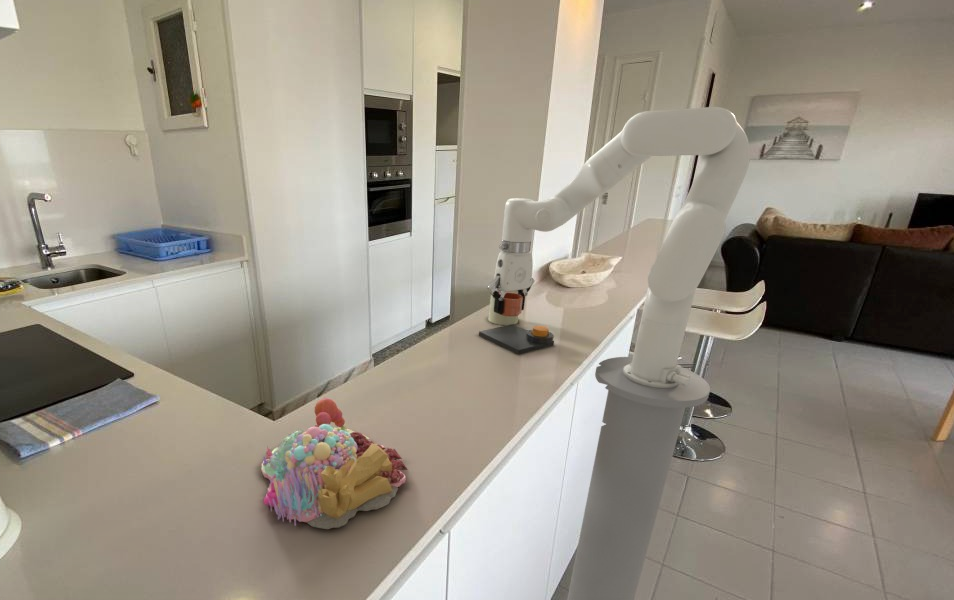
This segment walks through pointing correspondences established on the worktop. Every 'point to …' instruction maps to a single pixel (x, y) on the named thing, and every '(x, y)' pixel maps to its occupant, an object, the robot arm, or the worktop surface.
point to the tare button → (540, 331)
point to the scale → (517, 339)
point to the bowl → (512, 304)
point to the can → (499, 318)
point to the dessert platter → (330, 472)
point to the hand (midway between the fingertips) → (508, 310)
